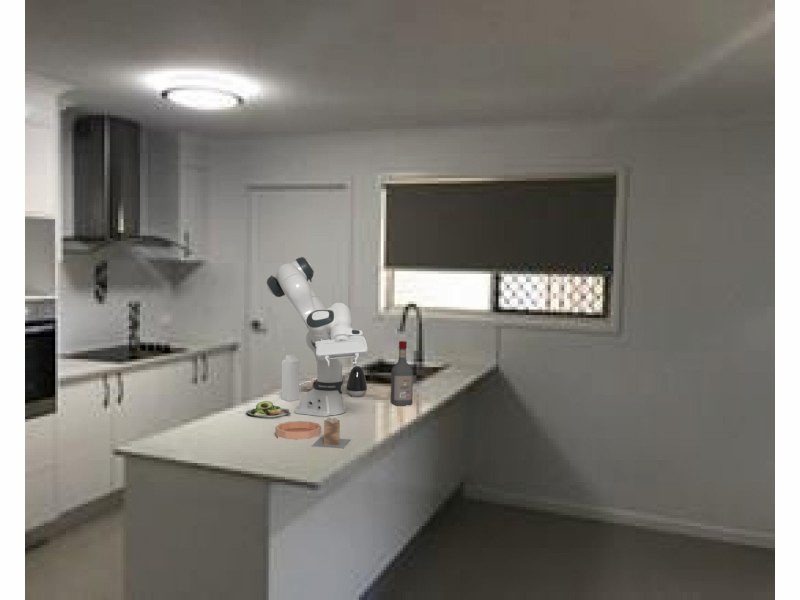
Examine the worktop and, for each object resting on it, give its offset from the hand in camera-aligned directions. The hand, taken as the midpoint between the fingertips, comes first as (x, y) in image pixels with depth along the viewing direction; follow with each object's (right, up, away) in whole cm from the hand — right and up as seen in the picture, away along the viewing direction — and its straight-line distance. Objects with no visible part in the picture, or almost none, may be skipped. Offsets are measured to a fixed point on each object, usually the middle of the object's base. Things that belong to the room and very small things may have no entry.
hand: (342, 365), depth 252 cm
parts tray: (-3, -28, -9) cm, 30 cm away
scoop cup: (-3, -27, -10) cm, 29 cm away
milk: (-31, -23, +67) cm, 77 cm away
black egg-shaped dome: (0, -23, +78) cm, 81 cm away
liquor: (+23, -25, +62) cm, 71 cm away
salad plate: (-36, -25, +37) cm, 58 cm away
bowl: (-17, -27, +3) cm, 33 cm away
